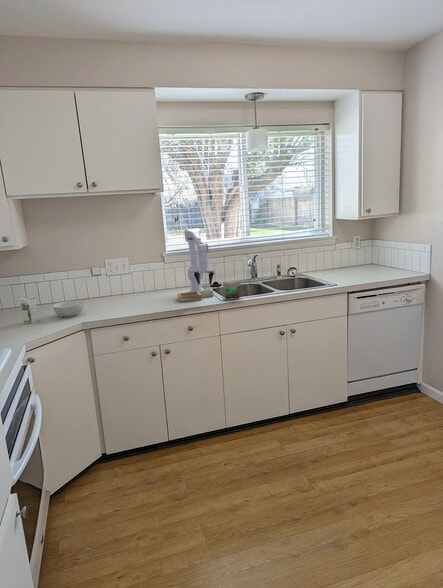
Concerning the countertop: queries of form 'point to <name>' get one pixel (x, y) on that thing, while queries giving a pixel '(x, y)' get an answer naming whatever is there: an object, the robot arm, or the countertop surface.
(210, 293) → the sage crate
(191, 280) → the robot arm
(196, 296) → the box
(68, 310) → the cereal bowl
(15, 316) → the countertop surface
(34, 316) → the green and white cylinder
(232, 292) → the food container
